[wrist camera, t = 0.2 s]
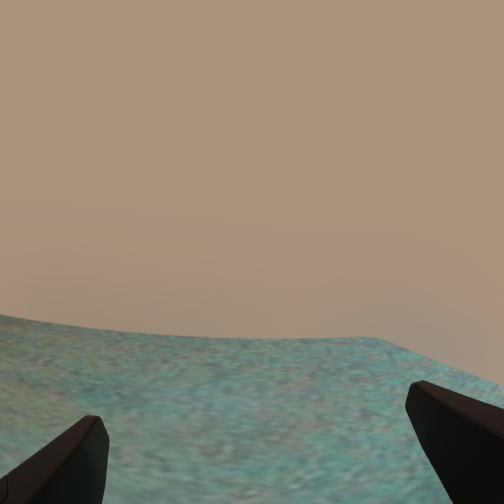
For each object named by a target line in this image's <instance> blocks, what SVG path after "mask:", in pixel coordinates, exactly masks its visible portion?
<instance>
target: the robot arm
mask: <svg viewBox="0 0 504 504" xmlns="http://www.w3.org/2000/svg"><path fill="white" fill-rule="evenodd" d="M405 409H406V412H407V414H408V416H409V419H410V421H411V423H412V426H413V428H414V430H415V433H416V435H417V437H418V440H419V442H420V444H421V446H422V448H423V450H424V452H425V454H426V456H427V457H428V459H429V461H430V463H431V465H432V466H433V468H434V470H435V472H436V473H437V475H438V477H439V479H440V481H441V483H442V484H443V486H444V488H445V490H446V492H447V494H448V495H449V497H450V499H451V501H452V503H453V504H504V409H502V408H499V407H496V406H494V405H491V404H488V403H485V402H482V401H479V400H476V399H473V398H471V397H468V396H465V395H462V394H459V393H457V392H454V391H451V390H448V389H446V388H443V387H440V386H438V385H435V384H432V383H430V382H427V381H424V380H421V381H418V382H414V383H412V384H411V385H410V388H409V392H408V395H407V399H406V403H405ZM109 443H110V442H109V436H108V433H107V431H106V429H105V426H104V424H103V421H102V419H101V418H100V417H99V416H93V415H86V416H84V417H83V418H82V419H80V420H79V421H78V422H77V423H75V424H74V425H73V426H71V427H70V428H69V429H67V430H66V431H65V432H63V433H62V434H61V435H59V436H58V437H57V438H55V439H54V440H53V441H51V442H50V443H49V444H47V445H46V446H45V447H43V448H42V449H41V450H39V451H38V452H36V453H35V454H34V455H32V456H31V457H30V458H28V459H27V460H26V461H24V462H23V463H21V464H20V465H19V466H17V467H16V468H15V469H13V470H12V471H10V472H9V473H8V474H7V475H5V476H3V477H2V478H1V479H0V504H102V500H103V495H104V490H105V483H106V473H107V462H108V452H109Z"/></svg>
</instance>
